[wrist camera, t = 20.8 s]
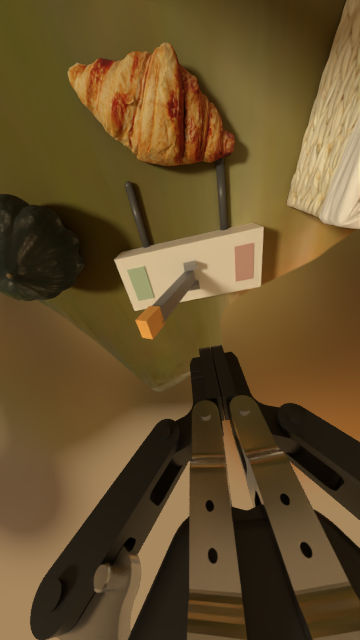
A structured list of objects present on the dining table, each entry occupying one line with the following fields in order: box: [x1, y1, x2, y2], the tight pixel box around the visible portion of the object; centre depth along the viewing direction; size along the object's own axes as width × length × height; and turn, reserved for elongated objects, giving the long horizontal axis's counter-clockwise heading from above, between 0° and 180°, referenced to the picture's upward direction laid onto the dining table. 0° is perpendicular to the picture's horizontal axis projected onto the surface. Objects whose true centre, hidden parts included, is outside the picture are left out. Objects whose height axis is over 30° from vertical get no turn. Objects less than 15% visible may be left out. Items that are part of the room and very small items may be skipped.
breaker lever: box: [135, 270, 196, 339], centre depth 26 cm, size 3×2×14 cm, turn 12°
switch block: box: [114, 158, 264, 311], centre depth 30 cm, size 20×24×7 cm
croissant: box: [68, 43, 235, 166], centre depth 23 cm, size 21×10×8 cm, turn 74°
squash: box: [0, 194, 85, 301], centre depth 28 cm, size 14×15×15 cm
